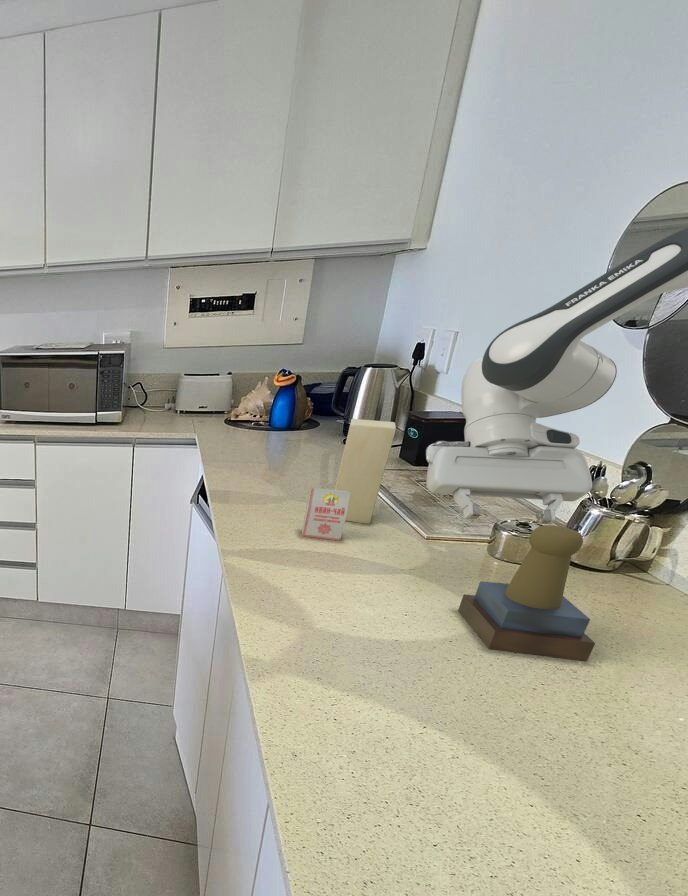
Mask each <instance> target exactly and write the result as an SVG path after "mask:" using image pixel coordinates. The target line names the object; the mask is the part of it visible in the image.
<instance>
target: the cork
mask: <svg viewBox="0 0 688 896" xmlns="http://www.w3.org/2000/svg"><path fill="white" fill-rule="evenodd" d="M528 539H529V540H528V542H529V544H530V549H529V550H528V552H527V554H526V555H525V557H524V558H523V560H522V562H521V564H520V565H519V567H518V568H517V570H516V572H515V574H514V575H513V577H512V578H511V580H510V582H509V583H508V584H509V585H508V587H507V588H506V590H505V592H504V594H505V596H507V597H508V598H509V599H511V600H513V601H514V602H517V603H519V604H522V605H525V606H529V607H533V608H538V609H548V610H550V609H557V608H560V606H561V602H562V598H563V596H564V592H565V587H566V583H567V578H568V575H569V571H570V565H571V560H572V556H573V555H575V554H577V553H578V552H579V551H580V550H581V548H582V546H583V545H584V538H583V535H582V534H581V533H580V532H578V531H576V530H575V529H573V528H570V527H567V526H560V525H552V524H543V525H539V526H538V527H536V528H534V529H533V530H532V532H531V533H530V535H529V538H528Z"/></svg>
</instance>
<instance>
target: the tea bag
mask: <svg viewBox="0 0 688 896" xmlns="http://www.w3.org/2000/svg"><path fill="white" fill-rule="evenodd" d="M350 493H351V492H350V491H340V490H334V489H329V488H328V489H327V488H320V487H319V488H318V487H317V488H316V487H311V488H310V493H309V497H308V500H307V503H306V509H305V513H304V517H303V523H302V527H301V534H302V537H305V538H306V537H307V538H313V539H321V540H322V539H323V540H330V541H338V542H341V540H342V535H343V531H344V526H345V524H346V523H345V522H346V521H345V519H346V515H347V510H348V504H349V498H350Z"/></svg>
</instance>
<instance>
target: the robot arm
mask: <svg viewBox="0 0 688 896" xmlns="http://www.w3.org/2000/svg"><path fill="white" fill-rule="evenodd" d="M686 288H688V227H687V228H684V229H680V230H679V231H677V232H674V233H672V234H670V235H668V236H667V237H664V238H662V239H660V240H659V241H657V242H655V243H654V244H651V245H650V246H648V247H646V248H645V249H643V250H641V251H640V252H638V253H637V254H634V255H633V256H631V257H629V258H628V259H627V260H625V261H623V262H621V263H620V264H618V265H616V266H614V267H613V268H612V269H610V270H608V271H607V272H605V273H604V274H602V275H600V276H598V277H597V278H595V279H594V280H592V281H591V282H589V283H587V284H586V285H584V286H582V287H581V288H579V289H578V290H575V291H574V292H572V293H571V294H569V295H567V296H566V297H564V298H563V299H561V300H559V301H558V302H556V303H555V304H553V305H551V306H550V307H548V308H546V309H544V310H542V311H540V312H538V313H536V314H534V315H531V316H529V317H527V318H525V319H523V320H521V321H518V322H517V323H514V324H512V325H511V326H509V327H507V328H506V329H504V330H503V331H501V332H500V333H499V334H497V335H496V336H495V337H494V338H493V339H492V340H491V342H490V343H489V344H488V346H487V348H486V349H485V351H484V354H483V355H482V356H481V357H479V358H477V359H476V360H474V361H473V362H472V363H471V364H470V365H469V366H468V367H467V369H466V371H465V373H464V376H463V379H462V383H461V411H462V415H463V416H464V418H465V425H464V428H463V435H464V437H463V438H464V441H446V440H437V441H435V442H433V443H431V444H429V445H428V446H427V447H426V449H425V460H426V461H427V463H428V467H427V473H426V488H427V490H428V491H429V492H430V493H431V494H437V495H439V494H440V495H453V501H454V502H455V503H456V504H457V506H458V507H460V509H461V510H462V513H463V518H464V519H467V520H477V519H478V518H480V517H481V511H480V510H481V506H480V505H478V504H474V503H473V502H472V500H471V499H470V498H469V497H471V496H472V497H487V498H503V499H505V498H506V499H507V498H508V499H520V500H537V501H538V500H540V501H542V505H543V506H546V508H545V509H541V510H539V512H537V513H535V518H536V523H537V524H539V525H540V524H541V525H552V524H553V523H555V521H556V519H557V516H556V511H557V509H558V508H559V506H560V505H561V504H562V502H575V501H578V500H579V499H581V498H583V497H585V496H586V495H587V494H588V493H590V491H591V490H592V488H593V480H592V475H591V470H590V467H589V464H588V461H587V458H586V456H585V455H584V454H583V453H582V452H581V451H580V450H577V449H576V448H577V447H578V446H580V437H579V435H577V434H576V433H573V432H569V431H564V430H560V429H556V428H553V427H549V426H546V425H543V424H541V423H537V419H542V418H549V417H553V416H559V415H563V414H566V413H570V412H574V411H577V410H581V409H584V408H586V407H588V406H590V405H593V404H594V403H596V402H597V401H599V400H601V398H603V397H604V396H605V395H606V394H607V393H608V392H609V390H611V388H612V386H613V385H614V382H615V381H616V377H617V373H618V370H617V369H618V368H617V364H616V363H615V362H614V360H612V359H611V358H610V357H608V356H607V355H605V354H604V353H603V352H601V351H600V350H598V349H596V348H594V346H592V345H590V344H587V343H586V342H585V341H583V340H582V339H583V338H584V337H586V336H587V335H589V334H591V333H592V332H594V331H596V330H597V329H599V328H602V327H603V326H604V325H606V324H608V323H609V322H612V321H613V320H615V319H616V318H619V317H621V316H622V315H624V314H626V313H627V312H629V311H631V310H632V309H635V308H636V307H638V306H639V305H641V304H643V303H645V302H646V301H649V300H650V299H652V298H654V297H657V296H659V295H662V294H665V293H667V292H671V291H676V290H681V289H686Z"/></svg>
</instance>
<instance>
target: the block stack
mask: <svg viewBox="0 0 688 896" xmlns="http://www.w3.org/2000/svg"><path fill="white" fill-rule="evenodd" d="M508 585H509V583H502V582H493V581H483V580H480V581H479V584H478V586H477V589H476V591H475V595H473V594H464V593H463V595H462V598H461V601H460V604H459V606H458V609H457V611H458V613H459V614H460V615H461V616H462V618H464V620H465V621H466V622H467V624H468V625H469V626H470V627H471V629H472V630H473V631H474V633H476V635H477V636H478V637H479V639H480V640H481V641H482V642H483V644H484V645H485V646H486V647H487V648H488V649H489V650H495V651H504V652H510V653H511V652H512V653H520V654H527V655H533V656H534V655H535V656H544V657H550V658H557V659H566V660H573V661H580V662H581V661H582V662H588V660H589V657H590V656H591V654H592V652H593V650H594V648H595V646H596V642H595V641H594V640H592V638H591V637H589V635H587V634H586V633H585V632H586V630H587V628H588V626H589V624H590V621H591V618H589V617H588V616H587V615H586V614H585V613H584V612H583V611H581V610H580V609H579V608H578V607H577V606H576V605H574V604H573V603H572V602H571V601H570V600H568V598H566V597H565V596H564V595H563V598H562V602H561V606H560V608H557V609H550V610H548V609H538V608H533V607H529V606H525V605H522V604H519V603H517V602H514V601H513V600H511V599H509V598H508V597H507V596H505V594H504V592H505V590H506V588H507V587H508Z"/></svg>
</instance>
